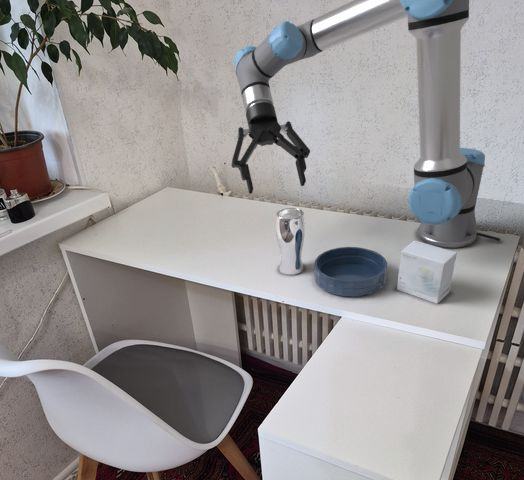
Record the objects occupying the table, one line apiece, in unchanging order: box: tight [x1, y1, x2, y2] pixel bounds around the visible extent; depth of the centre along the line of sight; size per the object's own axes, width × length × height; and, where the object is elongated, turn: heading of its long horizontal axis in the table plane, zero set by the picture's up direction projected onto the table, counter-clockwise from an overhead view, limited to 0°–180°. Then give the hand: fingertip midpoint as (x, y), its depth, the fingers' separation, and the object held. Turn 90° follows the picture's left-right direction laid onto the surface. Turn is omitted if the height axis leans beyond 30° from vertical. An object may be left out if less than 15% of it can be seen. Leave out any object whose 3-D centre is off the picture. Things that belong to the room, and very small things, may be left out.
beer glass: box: [275, 207, 306, 276], centre depth 126 cm, size 7×7×15 cm
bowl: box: [313, 246, 388, 297], centre depth 123 cm, size 17×17×4 cm
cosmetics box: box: [396, 240, 458, 304], centre depth 115 cm, size 10×6×10 cm, turn 48°
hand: (277, 187), depth 127 cm, fingers open, 13 cm apart
